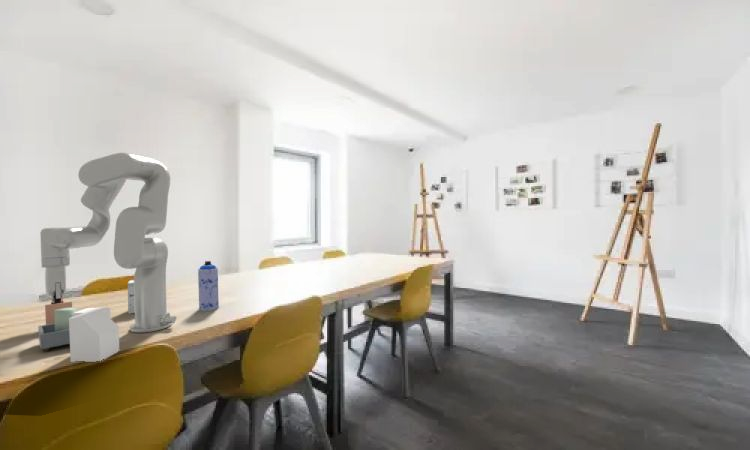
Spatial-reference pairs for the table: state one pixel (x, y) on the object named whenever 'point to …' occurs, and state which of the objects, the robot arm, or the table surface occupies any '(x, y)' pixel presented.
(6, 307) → the table surface
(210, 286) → the aerosol can
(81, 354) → the white angular block
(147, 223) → the robot arm
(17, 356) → the table surface
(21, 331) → the table surface
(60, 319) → the part
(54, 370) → the table surface
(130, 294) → the supplement box
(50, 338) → the grey desk organizer
